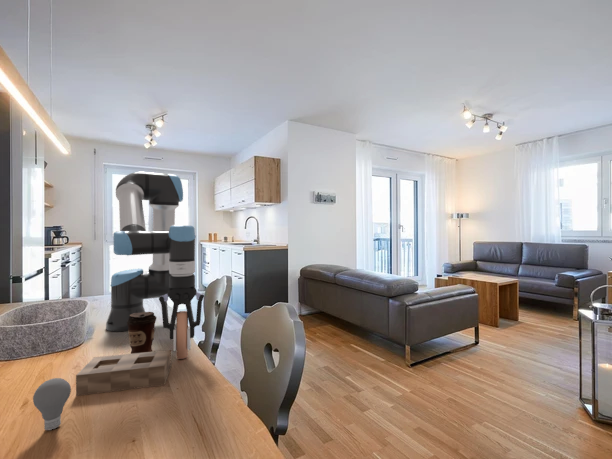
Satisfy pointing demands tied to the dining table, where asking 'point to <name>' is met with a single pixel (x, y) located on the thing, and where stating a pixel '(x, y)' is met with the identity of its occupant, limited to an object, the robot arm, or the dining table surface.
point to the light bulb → (52, 401)
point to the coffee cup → (141, 331)
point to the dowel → (181, 334)
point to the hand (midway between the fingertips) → (182, 348)
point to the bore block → (124, 372)
